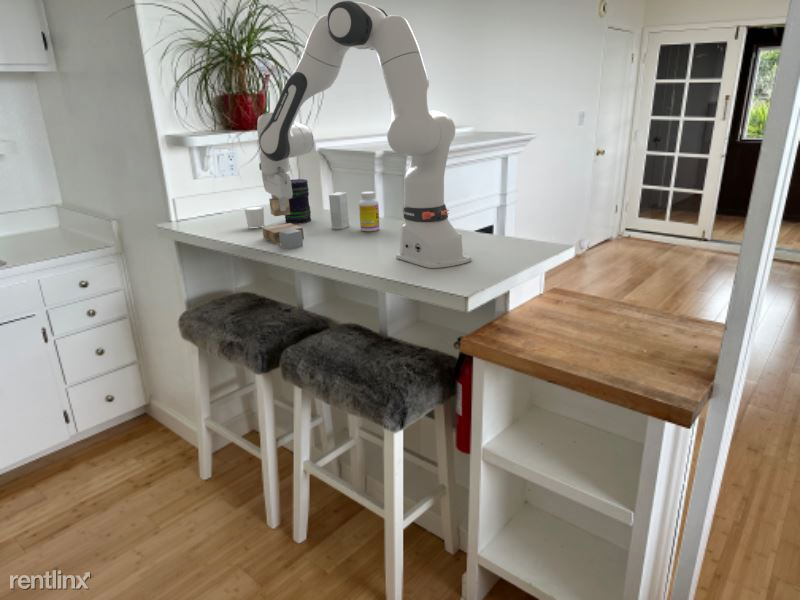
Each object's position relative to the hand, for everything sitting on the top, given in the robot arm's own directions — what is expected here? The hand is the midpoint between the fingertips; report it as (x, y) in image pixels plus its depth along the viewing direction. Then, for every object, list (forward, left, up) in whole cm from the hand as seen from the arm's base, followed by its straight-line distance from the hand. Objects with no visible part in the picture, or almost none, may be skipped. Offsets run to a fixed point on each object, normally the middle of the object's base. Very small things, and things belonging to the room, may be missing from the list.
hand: (280, 209), depth 184 cm
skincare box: (+4, -22, -10) cm, 25 cm away
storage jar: (+24, -13, -10) cm, 29 cm away
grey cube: (-12, +1, -10) cm, 16 cm away
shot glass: (+24, +3, -10) cm, 26 cm away
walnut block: (0, 0, -10) cm, 10 cm away
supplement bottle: (-6, -29, -10) cm, 31 cm away
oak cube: (0, 0, -2) cm, 2 cm away
